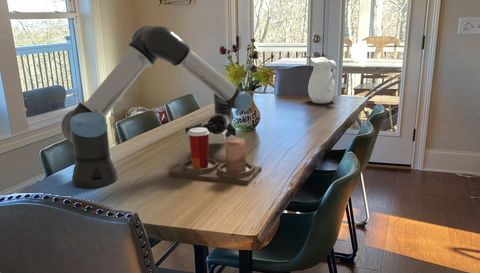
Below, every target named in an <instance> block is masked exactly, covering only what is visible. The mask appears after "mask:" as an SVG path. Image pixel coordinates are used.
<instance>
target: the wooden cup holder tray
mask: <svg viewBox="0 0 480 273" xmlns="http://www.w3.org/2000/svg"><path fill="white" fill-rule="evenodd" d="M224 143H225V144H224V145H225V147H224V148H225V162H219V161H217V160H216V159H213V158H208V167H207V168H203V169H194V168H193V164H192V159H187V160H185V161H183V162H181V164H179V165H177V166H176V167H174V168H173V169H172V170H170V171H168V177H173V178H183V179H192V180H201V181H210V182H217V183H219V182H220V183H226V184H237V185H246V186H249V184H251V183H252V181H253V180H254V179H255V178H256V177H257V176H258V175H259V174H260V173H261V172H262V166H258V165H253V163H251V162H248V161H247V159H246V158H247V157H246V156H247V155H246V152H247V151H246V139H244V138H243V137H242V138H241V137H231V138H226V139H225V140H224Z"/></svg>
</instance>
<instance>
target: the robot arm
mask: <svg viewBox="0 0 480 273" xmlns="http://www.w3.org/2000/svg"><path fill="white" fill-rule="evenodd" d="M126 47H127V48H126V49H127V52H126V54H125V55H124V56H123V57H122V58H121V59H120V61H119V62H118V63H117V65H115V67H114V68H113V70H112V71H110V73H109V74H108V75H107V76H106V78H105V79H104V80H103V81H102V82H101V83H100V85H99V86H98V87H97V88H96V90H95V91H94V92H93V94H91V95H90V97H89V98H88V99H87V100H86V101H80V102H79V103H78V104H77V105H76V107H75V108H74V109H72V110H70V111H68V112H67V113H66V114H65V115H64V116H63V118H62V120H61V123H60V127H61V131H62V133H63V135H64V137H65V139H67V140H68V141H70V142H71V143H72V146H73V154H74V161H75V163H74V165H73V166H74V168H73V171H72V172H73V174H72V177H71V178H72V179H71V180H72V185H73V186H74V187H76V188H80V189H94V188H101V187H104V186H108V185H111V184H113V183H115V182H116V181H117V180H118V172H117V170H116V168H115V165H114V163H113V161H112V159H111V154H110V142H109V134H108V133H109V132H108V123H107V115H108V114H109V112H110V111H111V110H112V109H113V108H114V107H115V105H116V104H117V103H118V102H119V101H120V99H121V98H122V97H123V95H124V94H125V93H126V92H127V91H128V89H129V88H130V87H131V86H132V84H133V83H134V82H135V81H136V79H137V78H138V77H139V76H140V75H141V73H142V72H143V71H144V70H146V68H151V67H153V65H154V64H155V63H156V61H157V60H159V59H161V60H164V61H166V62H168V63H170V64H171V65H173V66H174V67H180V68H181V69H182V70H184V71H185V73H187V74H189V75H190V76H191V77H193V78H194V79H195V80H197V81H198V82H199V83H200V84H201V85H203V86H204V87H206V88H207V89H208V90H210V91H211V92H212V93H213V102H214V103H213V104H214V114H213V116H212V117H211V118H209V120H208V122H207V123H204V124H203V123H201V122H200V123H197V124H194V125H191V126H188V127H185V129H184V130H185V135H186V140H187V141H190V140H189V135H188V133H189V132H188V131H189V130H190V129H192V128H199V127H201V128H207V129H208V131H209V133H212V134H214V135H220V134H221V141H222V142H225V140H227V139H228V138H229V137H230V136H233V137H235V136H237V130H236V128H235V127H234V126H233V124H232V123H233V120H234V117H235V114H234V112H233V110H232V109H234V110H237V111H247V110H248V109H249V108H250V107H251V106H252V102H253V101H252V96H251V95H250V94H249V93H248V92H246V91H242V90H241V89H239V87H237V86H236V85H235V84H234V83H232V82H231V81H230V80H228V79H227V78H226V77H225V76H224V75H222V74H221V73H220V72H218V71H217V70H216V69H215V68H214V67H213V66H211V65H210V64H208V62H206V61H205V60H204V59H203V58H201V57H200V56H199V54H197V53H195V52H194V51H193V50H192V49H191V48H192V47H191V45H190V44H189V43H188V42H186V41H185V40H184V39H183V38H181V36H179V35H178V34H177V33H175V32H174V31H173V30H171V29H170V28H169V27H166V26H163V25H162V26H161V25H143V26H141V27H139V28H137V30H135V31H134V33H133V34H132V38H131V41H130V43H129V44H128V45H127V46H126Z"/></svg>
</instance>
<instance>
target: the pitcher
mask: <svg viewBox="0 0 480 273" xmlns="http://www.w3.org/2000/svg"><path fill="white" fill-rule="evenodd" d="M310 60H311V62H312V65H313V69H312V72H311V74H310V77H309V81H308V86H307V91H308V96H309V99H310V100H311V102H312V103H313V104H329V103H331V101H332V99H333V98H334V96H335V93H336V84H335V83H336V82H335V78H334V77H335V76H336V73H337V70H338V69H337V63H336V62H335V60H332V59H330V60H329V59H328V58H326V57H324V56H319V57H310ZM331 66H332V68H331Z"/></svg>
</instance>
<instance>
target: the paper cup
mask: <svg viewBox="0 0 480 273" xmlns="http://www.w3.org/2000/svg"><path fill="white" fill-rule="evenodd" d="M188 132H189V133H188V135H189V140H188V141H189V148H190V156H191V160H192V164H193V168H194V169H203V168H207V167H208V159H209V143H210V142H209V139H210V138H209V135H210V132H209V131H208V129H207V128H201V127H199V128H192V129H190V130H189V131H188Z"/></svg>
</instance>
